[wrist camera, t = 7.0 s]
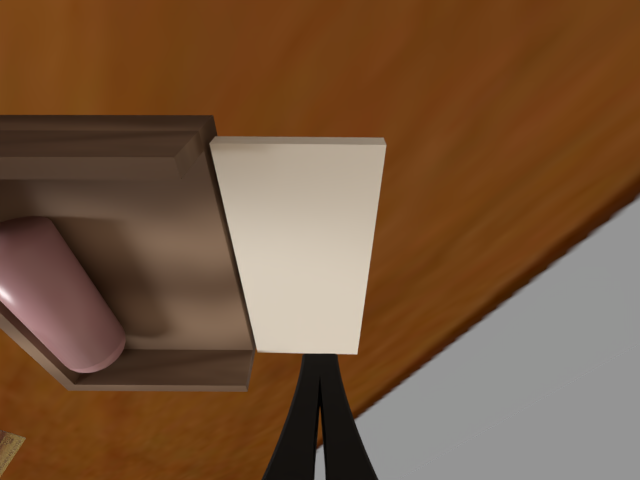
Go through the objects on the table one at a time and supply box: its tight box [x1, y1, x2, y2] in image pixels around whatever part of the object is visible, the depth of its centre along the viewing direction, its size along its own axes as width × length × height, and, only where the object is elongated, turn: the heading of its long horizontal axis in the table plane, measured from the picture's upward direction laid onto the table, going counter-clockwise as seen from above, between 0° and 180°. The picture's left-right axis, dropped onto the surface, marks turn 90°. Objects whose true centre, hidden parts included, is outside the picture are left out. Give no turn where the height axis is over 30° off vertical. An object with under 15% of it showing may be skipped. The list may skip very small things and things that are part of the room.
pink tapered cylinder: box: [0, 216, 126, 373], centre depth 16 cm, size 10×3×3 cm, turn 0°
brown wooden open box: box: [0, 115, 256, 392], centre depth 17 cm, size 16×12×4 cm
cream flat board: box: [209, 136, 386, 354], centre depth 17 cm, size 15×1×7 cm
